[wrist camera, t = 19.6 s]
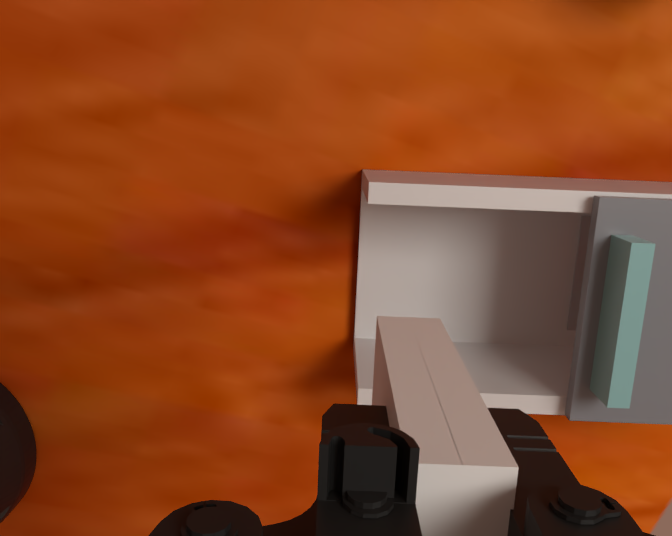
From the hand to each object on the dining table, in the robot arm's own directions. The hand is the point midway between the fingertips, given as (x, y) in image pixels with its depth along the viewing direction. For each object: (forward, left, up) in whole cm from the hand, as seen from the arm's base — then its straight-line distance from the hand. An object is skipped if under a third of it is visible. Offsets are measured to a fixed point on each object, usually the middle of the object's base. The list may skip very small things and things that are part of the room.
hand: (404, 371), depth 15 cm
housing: (+13, -4, -30) cm, 33 cm away
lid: (+17, -4, -20) cm, 27 cm away
